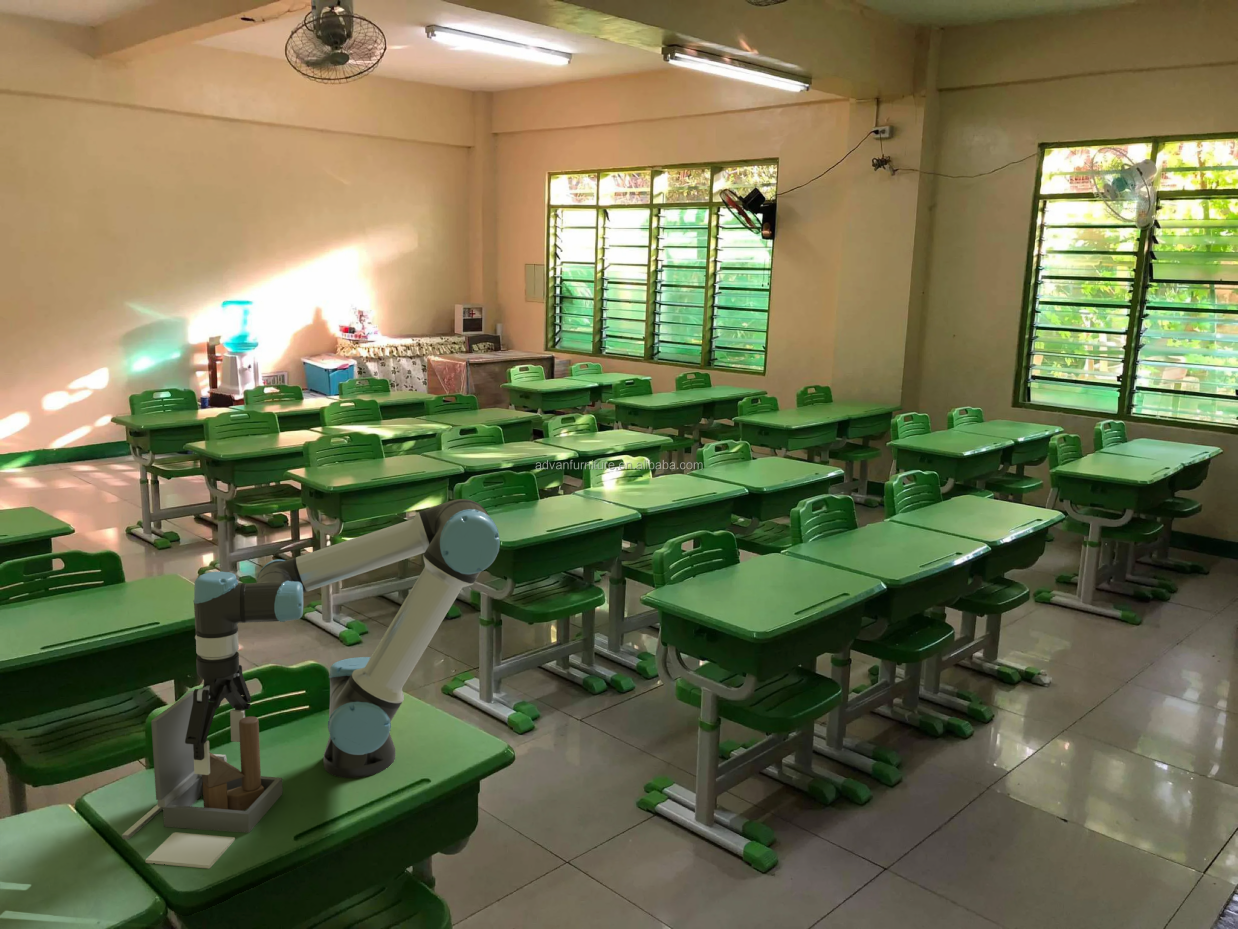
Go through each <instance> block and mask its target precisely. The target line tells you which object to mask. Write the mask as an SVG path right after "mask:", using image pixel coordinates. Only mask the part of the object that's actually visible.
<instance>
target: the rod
mask: <svg viewBox="0 0 1238 929" xmlns="http://www.w3.org/2000/svg"><path fill="white" fill-rule="evenodd" d="M162 811H163V807H158V803H157V804H156V805H155V806H153V808H151V809H150V810H148V812H147V813H146V814H145V815H143V816H142V817H141V818H140V819H138V820H137V821H136V822H135V823H134V824H133V825H131V826H130V827H129V828H128V829H127V830H126V831H124V832H123V833H122V834H121V838H122V839H123V840H129V839H131V838H132V837H133V836H134V835H135V834H136V833H138V832H139V831H140V830H141V829H142V828H143V827H144V826H146V825H147V824H148V823H149V822H150V821H151V820H153V818H154V817H156V816H157V815H158V814H160V812H162ZM138 830H139V831H138Z"/></svg>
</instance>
